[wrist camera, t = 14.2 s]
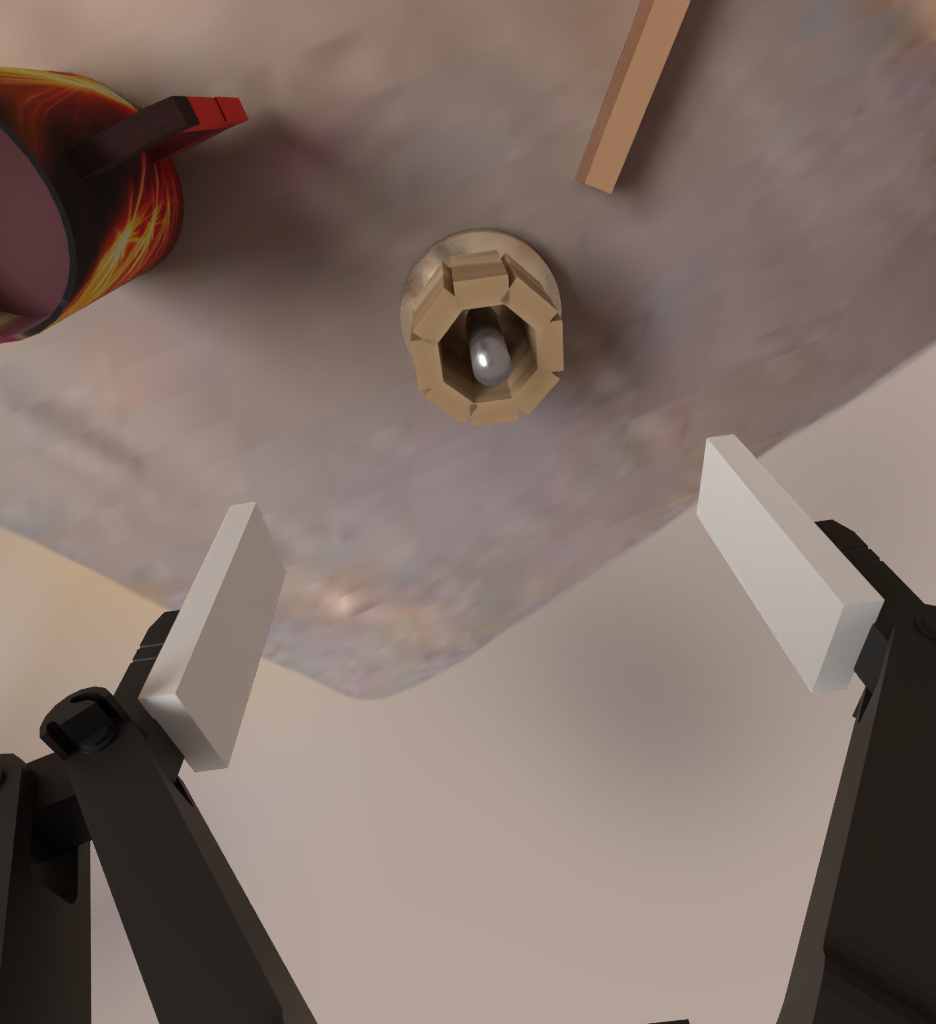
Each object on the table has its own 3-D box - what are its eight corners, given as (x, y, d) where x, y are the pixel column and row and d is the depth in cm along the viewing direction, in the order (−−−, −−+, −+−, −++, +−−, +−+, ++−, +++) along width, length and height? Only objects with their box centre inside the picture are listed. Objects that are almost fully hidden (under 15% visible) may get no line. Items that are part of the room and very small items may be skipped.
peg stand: (386, 241, 34) (374, 278, 26) (555, 217, 33) (590, 248, 26) (416, 397, 39) (412, 464, 32) (560, 378, 39) (589, 440, 32)
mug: (259, 111, 30) (175, 114, 20) (135, 310, 35) (22, 388, 25) (69, -71, 26) (-154, -179, 16) (-38, 186, 31) (-253, 223, 21)
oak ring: (405, 262, 33) (400, 289, 28) (541, 243, 33) (560, 267, 28) (427, 390, 38) (426, 432, 33) (547, 374, 38) (564, 413, 33)
